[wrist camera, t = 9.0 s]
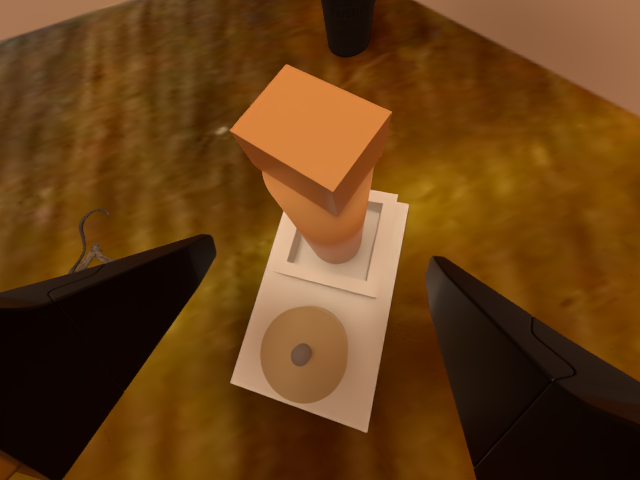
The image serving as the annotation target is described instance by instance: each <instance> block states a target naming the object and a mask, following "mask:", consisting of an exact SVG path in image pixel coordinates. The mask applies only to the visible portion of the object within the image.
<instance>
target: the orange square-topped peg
mask: <svg viewBox="0 0 640 480" xmlns="http://www.w3.org/2000/svg"><path fill="white" fill-rule="evenodd" d="M391 114H392V112H391V111H389V110H387V109H384V108H382V107H380V106H378V105H375V104H373V103H371V102H369V101H367V100H364V99H362V98H360V97H358V96H356V95H353V94H351V93H349V92H347V91H344V90H342V89H340V88H338V87H336V86H333V85H331V84H329V83H327V82H325V81H322V80H320V79H318V78H316V77H314V76H311V75H309V74H307V73H305V72H302V71H300V70H298V69H296V68H294V67H291V66H289V65H287V64H286V65H285V66H284V67H283V69H282V70H281V71H280V72H279V73H278V74H277V76H276V77H275V78H274V79H273V80H272V81H271V83H270V84H269V85H268V86H267V87H266V89H265V90H264V91H263V92H262V93H261V94H260V96H259V97H258V98H257V99H256V100H255V101H254V103H253V104H252V105H251V106H250V107H249V108H248V110H247V111H246V112H245V113H244V114H243V116H242V117H241V118H240V119H239V120H238V121H237V123H236V124H235V125H234V126H233V127H232V128H231V130H230V132H231V133H232V135H233V136H234V138H235V139H236V140H237V142H238V143H239V145H240V146H241V147H242V149H243V150H244V152H245V153H246V154H247V156H248V157H249V159H250V160H251V161H252V163H253V164H254V166H256V167H257V168H259V169H260V170H262V174H263V179H264V182H265V185H266V187H267V189H268V190H269V192H270V193H271V195H272V196H273V197H274V199H275V200H276V201H277V203H278V204H279V205H280V207H281V208H282V209H283V211H284V212H285V213H286V215H287V216H288V217H289V219H290V220H291V221H292V223H293V224H294V225H295V227H296V228H297V229H298V231H299V232H300V233H301V235H302V236H303V237H304V239H305V240H306V241H307V243H308V244H309V245H310V247H311V248H312V249H313V251H314V252H315V253H316V255H317V256H318V257H319V258H320V259H322V260H323V261H325V262H327V263H331V264H341V263H344V262H347V261H349V260H350V259H352V258H353V257H354V256H355V255H356V254H357V252H358V250H359V248H360V245H361V240H362V234H363V228H364V222H365V217H366V211H367V205H368V199H369V193H370V188H371V182H372V176H373V170H374V165H375V164H376V163H377V161H378V160H379V159H380V157H381V156H382V154H383V151H384V146H385V142H386V137H387V132H388V128H389V123H390V119H391Z"/></svg>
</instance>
